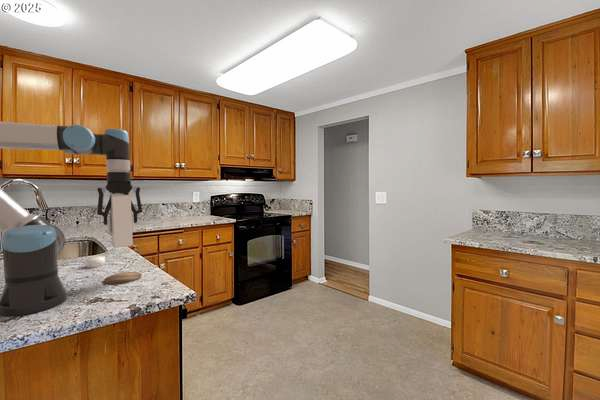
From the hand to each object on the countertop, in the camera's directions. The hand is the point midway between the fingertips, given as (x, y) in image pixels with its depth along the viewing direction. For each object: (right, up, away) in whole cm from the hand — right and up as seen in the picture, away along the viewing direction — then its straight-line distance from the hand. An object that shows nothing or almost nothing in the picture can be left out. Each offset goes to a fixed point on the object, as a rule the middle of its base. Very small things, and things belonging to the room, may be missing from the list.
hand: (121, 232), depth 109 cm
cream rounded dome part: (-23, -17, +19) cm, 35 cm away
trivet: (0, -18, +1) cm, 18 cm away
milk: (0, -5, 0) cm, 5 cm away
